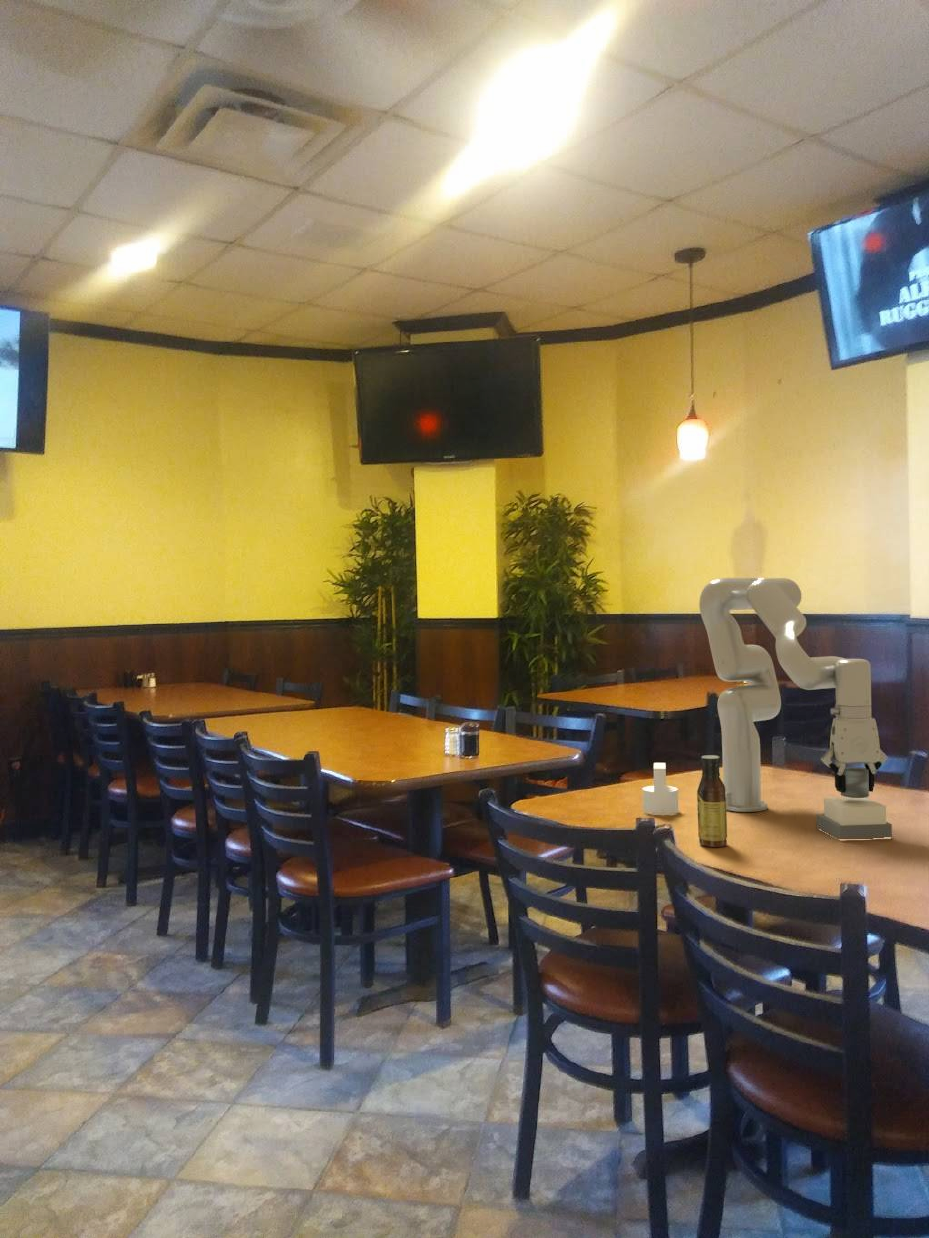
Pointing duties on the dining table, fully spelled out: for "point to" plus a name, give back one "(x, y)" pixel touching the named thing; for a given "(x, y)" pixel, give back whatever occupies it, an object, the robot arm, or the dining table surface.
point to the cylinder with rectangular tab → (660, 794)
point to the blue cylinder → (856, 782)
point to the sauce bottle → (711, 804)
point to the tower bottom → (852, 829)
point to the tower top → (854, 811)
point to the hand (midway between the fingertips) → (854, 790)
